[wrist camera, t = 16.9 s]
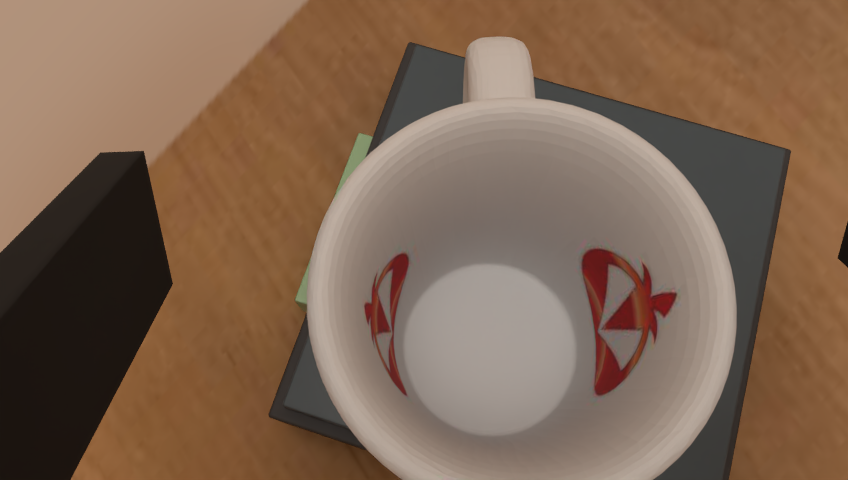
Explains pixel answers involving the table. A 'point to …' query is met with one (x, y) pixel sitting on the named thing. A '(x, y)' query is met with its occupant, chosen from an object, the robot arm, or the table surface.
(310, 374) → the kitchen scale
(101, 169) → the robot arm
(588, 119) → the cup
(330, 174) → the table surface
